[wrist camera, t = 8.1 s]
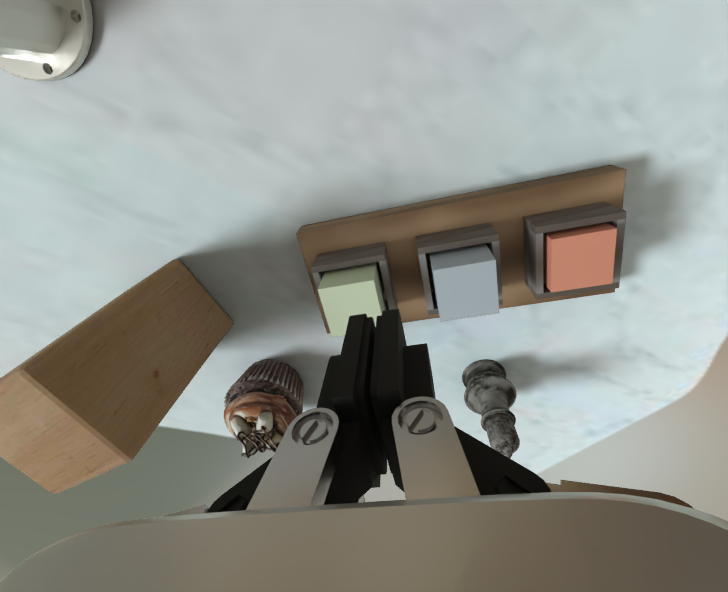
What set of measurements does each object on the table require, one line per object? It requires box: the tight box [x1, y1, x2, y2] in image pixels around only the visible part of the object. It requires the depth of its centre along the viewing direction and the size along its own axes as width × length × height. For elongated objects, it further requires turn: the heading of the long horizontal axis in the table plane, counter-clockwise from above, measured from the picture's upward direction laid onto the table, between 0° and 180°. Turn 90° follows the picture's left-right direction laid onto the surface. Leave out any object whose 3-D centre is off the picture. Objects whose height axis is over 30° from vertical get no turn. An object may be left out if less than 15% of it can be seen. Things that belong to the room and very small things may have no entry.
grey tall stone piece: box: [462, 360, 520, 458], centre depth 41 cm, size 6×6×12 cm
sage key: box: [317, 262, 386, 337], centre depth 35 cm, size 5×5×4 cm
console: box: [296, 165, 626, 334], centre depth 37 cm, size 12×30×6 cm, turn 102°
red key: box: [543, 222, 617, 292], centre depth 33 cm, size 5×5×4 cm
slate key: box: [429, 243, 499, 321], centre depth 33 cm, size 5×5×4 cm
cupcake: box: [224, 360, 303, 458], centre depth 45 cm, size 10×10×10 cm
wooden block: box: [0, 259, 233, 494], centre depth 36 cm, size 10×10×20 cm
